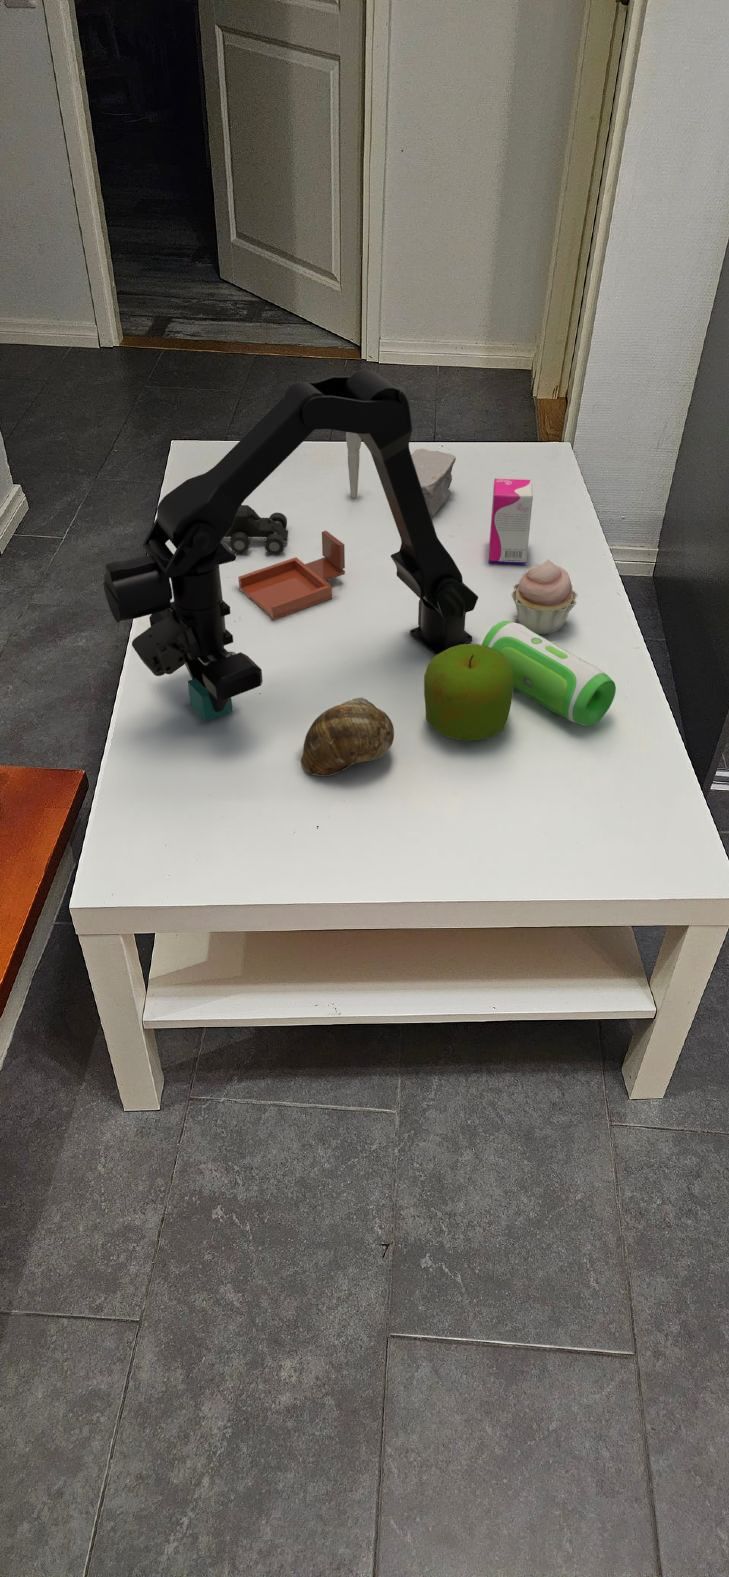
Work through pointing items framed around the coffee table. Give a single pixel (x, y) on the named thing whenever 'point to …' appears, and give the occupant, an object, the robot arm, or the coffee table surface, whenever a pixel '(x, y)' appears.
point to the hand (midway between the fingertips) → (211, 702)
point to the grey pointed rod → (353, 461)
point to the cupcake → (544, 598)
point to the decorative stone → (434, 476)
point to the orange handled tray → (295, 581)
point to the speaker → (553, 674)
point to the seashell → (346, 737)
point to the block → (204, 701)
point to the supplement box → (510, 521)
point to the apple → (468, 692)
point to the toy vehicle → (258, 530)
